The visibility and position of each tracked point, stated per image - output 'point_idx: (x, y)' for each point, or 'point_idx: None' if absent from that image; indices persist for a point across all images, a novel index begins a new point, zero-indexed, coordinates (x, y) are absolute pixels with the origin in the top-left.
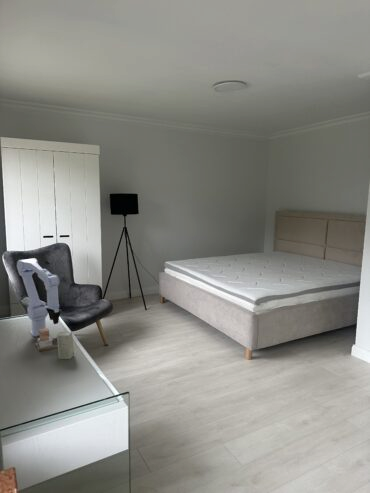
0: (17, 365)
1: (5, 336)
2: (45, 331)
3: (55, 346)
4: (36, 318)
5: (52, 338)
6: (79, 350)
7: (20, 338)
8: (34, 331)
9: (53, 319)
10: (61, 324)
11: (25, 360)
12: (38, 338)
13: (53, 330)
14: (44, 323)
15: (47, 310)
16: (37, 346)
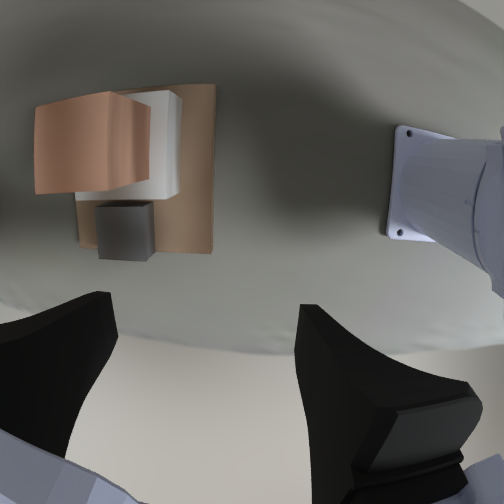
0: (20, 10)
1: (483, 19)
2: (36, 155)
3: (78, 207)
4: (501, 171)
5: (141, 214)
6: (17, 301)
7: (417, 50)
8: (434, 143)
9: (45, 317)
10: (459, 346)
11: (36, 34)
12: (165, 97)
13: (417, 285)
14: (449, 242)
15: (356, 391)
16: (135, 90)
